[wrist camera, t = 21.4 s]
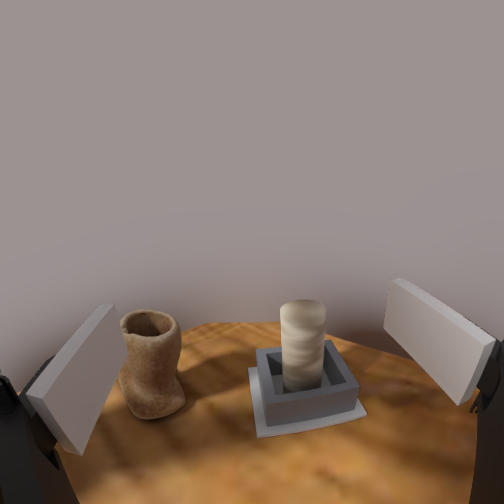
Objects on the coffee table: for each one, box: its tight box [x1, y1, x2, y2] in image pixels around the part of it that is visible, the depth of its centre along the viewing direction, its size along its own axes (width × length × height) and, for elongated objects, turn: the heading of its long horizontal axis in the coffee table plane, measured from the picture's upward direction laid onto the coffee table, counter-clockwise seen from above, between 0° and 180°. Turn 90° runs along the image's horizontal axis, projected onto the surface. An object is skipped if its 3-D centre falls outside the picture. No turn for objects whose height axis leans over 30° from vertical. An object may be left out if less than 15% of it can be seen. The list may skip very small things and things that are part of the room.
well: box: [248, 339, 367, 438], centre depth 38 cm, size 16×16×6 cm
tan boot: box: [118, 310, 185, 420], centre depth 38 cm, size 15×12×15 cm
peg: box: [280, 300, 326, 394], centre depth 37 cm, size 6×6×15 cm
